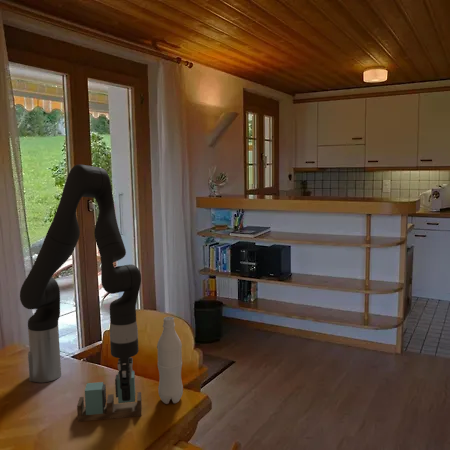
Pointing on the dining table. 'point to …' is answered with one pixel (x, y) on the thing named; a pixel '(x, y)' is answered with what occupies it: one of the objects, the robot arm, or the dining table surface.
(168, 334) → the water bottle
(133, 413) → the rail
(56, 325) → the robot arm
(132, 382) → the teal block
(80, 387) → the dining table surface
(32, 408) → the dining table surface
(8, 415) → the dining table surface
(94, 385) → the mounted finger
